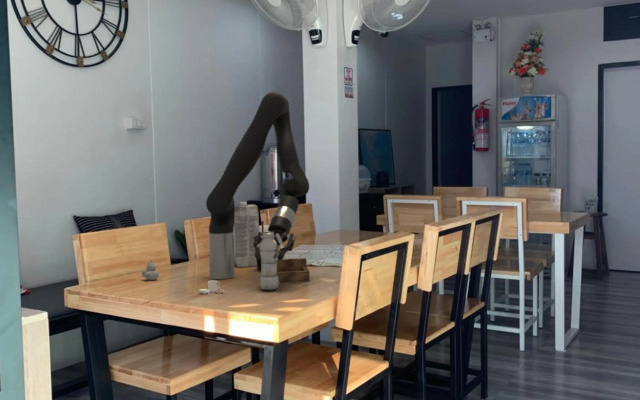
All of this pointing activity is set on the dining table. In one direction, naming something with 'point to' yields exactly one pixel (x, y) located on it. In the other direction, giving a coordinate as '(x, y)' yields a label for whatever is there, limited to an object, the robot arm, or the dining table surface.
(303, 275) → the drawer
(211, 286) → the teacup and saucer
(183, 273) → the dining table surface
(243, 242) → the juice carton
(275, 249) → the plastic bottle
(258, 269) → the drinking cup
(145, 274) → the rubber duck
